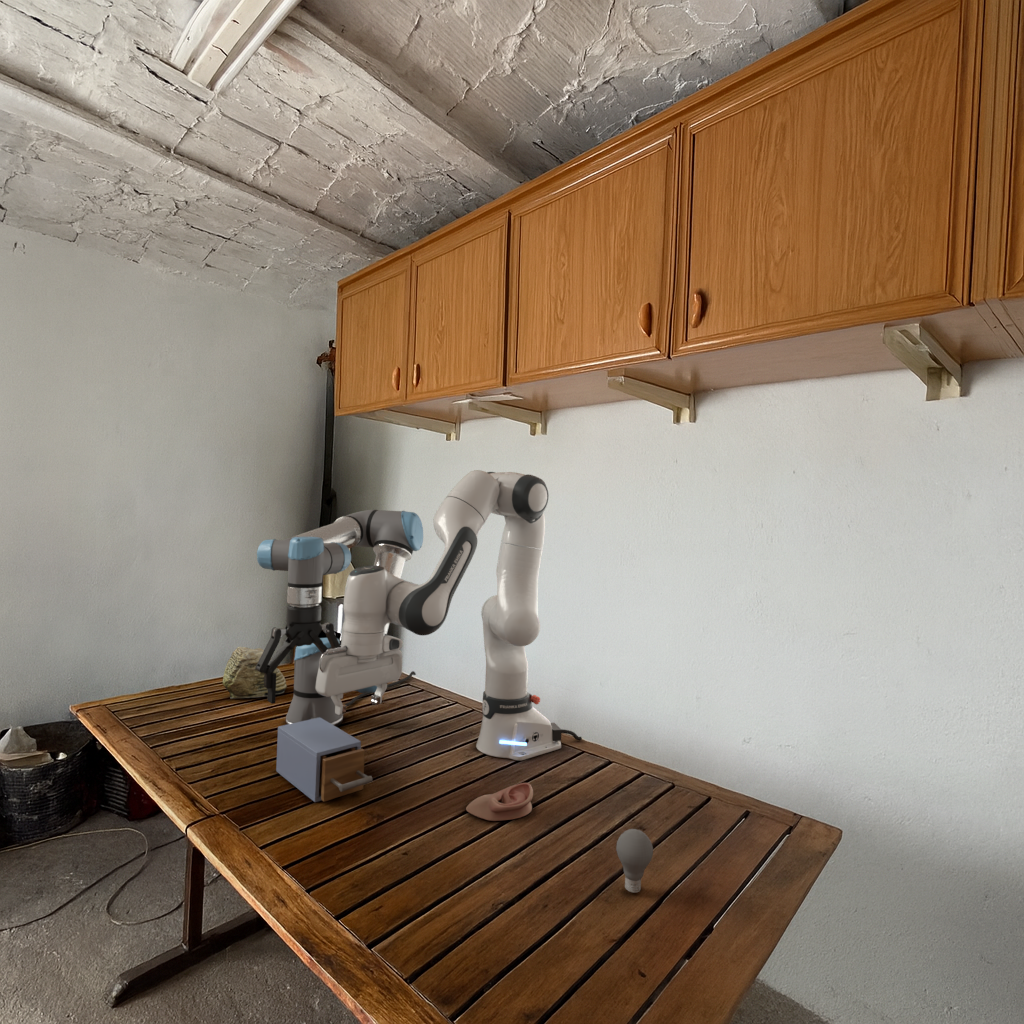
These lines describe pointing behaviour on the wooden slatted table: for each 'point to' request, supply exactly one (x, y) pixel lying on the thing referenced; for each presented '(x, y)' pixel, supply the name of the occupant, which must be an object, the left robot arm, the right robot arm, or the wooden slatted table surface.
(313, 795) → the cabinet
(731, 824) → the wooden slatted table surface
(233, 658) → the fossil
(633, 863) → the light bulb
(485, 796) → the anatomical model
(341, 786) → the drawer
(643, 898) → the wooden slatted table surface
